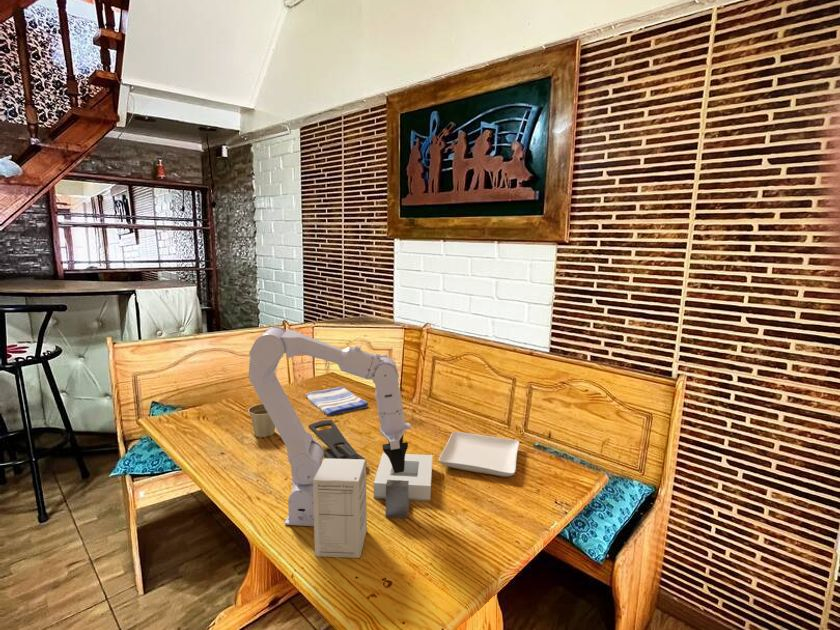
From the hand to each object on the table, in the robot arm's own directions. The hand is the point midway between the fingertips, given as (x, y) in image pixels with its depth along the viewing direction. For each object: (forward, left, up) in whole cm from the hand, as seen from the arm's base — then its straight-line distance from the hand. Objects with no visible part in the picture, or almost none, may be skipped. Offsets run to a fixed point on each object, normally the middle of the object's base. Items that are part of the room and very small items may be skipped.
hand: (398, 463), depth 106 cm
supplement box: (-14, +10, -12) cm, 21 cm away
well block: (+11, -1, -11) cm, 16 cm away
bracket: (-2, 0, -11) cm, 11 cm away
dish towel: (+67, +31, -12) cm, 75 cm away
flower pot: (+36, +47, -12) cm, 61 cm away
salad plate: (+26, -22, -12) cm, 36 cm away
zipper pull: (+24, +21, -12) cm, 33 cm away
